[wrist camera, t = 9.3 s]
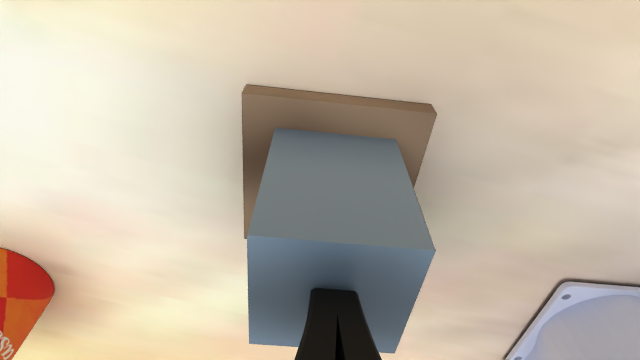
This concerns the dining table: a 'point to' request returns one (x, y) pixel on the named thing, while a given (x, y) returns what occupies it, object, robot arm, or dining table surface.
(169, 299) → the dining table surface
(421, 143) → the board
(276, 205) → the blue-grey block
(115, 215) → the dining table surface
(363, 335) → the robot arm
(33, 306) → the paper cup
